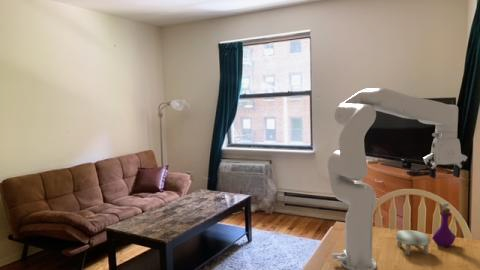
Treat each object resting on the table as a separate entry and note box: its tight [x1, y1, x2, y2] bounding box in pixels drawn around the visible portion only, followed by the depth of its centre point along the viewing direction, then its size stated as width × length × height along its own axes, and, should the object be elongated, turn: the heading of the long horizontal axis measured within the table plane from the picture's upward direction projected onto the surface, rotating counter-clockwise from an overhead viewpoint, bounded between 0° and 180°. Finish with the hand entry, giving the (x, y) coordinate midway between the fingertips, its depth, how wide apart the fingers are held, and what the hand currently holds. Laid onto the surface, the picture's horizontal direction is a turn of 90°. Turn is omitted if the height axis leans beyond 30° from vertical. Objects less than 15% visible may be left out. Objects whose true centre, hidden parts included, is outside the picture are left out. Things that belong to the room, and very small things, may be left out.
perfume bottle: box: [431, 202, 456, 248], centre depth 141 cm, size 8×8×18 cm
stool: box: [395, 229, 431, 257], centre depth 138 cm, size 12×12×6 cm
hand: (444, 177), depth 140 cm, fingers open, 9 cm apart
